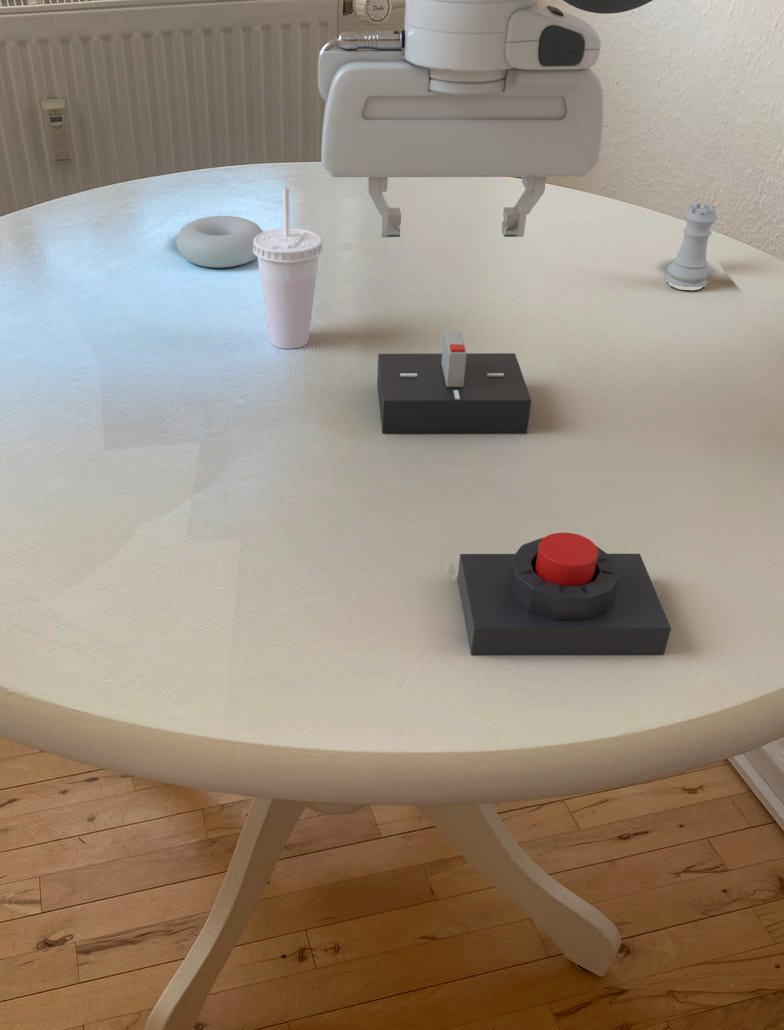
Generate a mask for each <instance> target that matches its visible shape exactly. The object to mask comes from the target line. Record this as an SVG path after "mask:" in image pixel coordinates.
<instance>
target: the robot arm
mask: <svg viewBox="0 0 784 1030" xmlns="http://www.w3.org/2000/svg"><path fill="white" fill-rule="evenodd" d="M562 1H563V2H565V3H566V4H568V5H569V6H571V7H574V8H576V9H578V10H581V11H584V12H588V13H592V14H603V15H607V14H608V15H609V14H620V13H625V12H629V11H632V10H636V9H638V8H640V7H641V8H642V7H643V6H645V5H647V4H649V3H650V2H653V1H654V0H562ZM403 27H404V29H402V30H381V31H380V30H378V31H373V32H358V31H354V30H349V31H343V32H342V31H341V32H340V33H338V37H336V38H333V39H330V40H329V41H328V42H326V43H325V44H324V45H323V46H322V48H321V49H320V51H319V53H318V56H317V58H316V59H317V60H316V88H317V90H318V93H319V95H320V97H321V99H323V101H324V102H325V104H324V111H323V119H322V129H321V145H320V146H321V147H320V161H321V162H320V163H321V166H322V167H323V169H324V170H325V171H326V172H327V173H328V174H329V176H331V177H332V178H367V181H366V182H367V184H366V186H367V191H368V194H369V196H370V198H371V200H372V201H373V204H374V206H375V207H376V209H377V212H378V213H379V215H380V218H379V220H380V221H379V232H380V233H379V234H380V238H400V237H401V227H400V226H401V224H402V212H401V208H400V207H390V206H389V204H388V202H387V200H386V198H385V195H384V194H383V193H386V192H387V191H388V182H389V181H388V180H389V178H521V184H522V185H523V187H524V191H523V193H522V194H521V196H520V197H519V199H518V200H517V202H516V203H515V205H514V206H513V207H512V206H510V207H508V206H507V207H506V206H505V207H503V212H502V218H503V220H502V221H501V234H502V235H503V237H504V238H523V237H524V234H525V228H526V222H527V221H526V220H527V215H529V214H530V213H531V211H532V210H533V209H534V207H535V206H536V204H537V203H538V201H540V199H541V197H542V196H543V195H544V194H545V192H546V191H545V190H546V189H545V188H546V182H547V178H568V177H569V178H582V177H586V176H587V175H589V173H590V172H591V171H592V170H593V168H595V166H596V165H597V164H598V162H599V159H600V154H601V148H602V147H601V146H602V140H603V139H602V137H603V126H604V125H603V124H604V91H603V86H602V83H601V81H600V78H599V77H598V75H597V74H596V73H595V72H594V70H593V69H592V68H593V67H594V66H595V65H596V63H597V61H598V60H599V56H600V53H601V52H600V51H601V44H602V43H601V38H600V35H599V34H598V32H597V31H596V30H595V28H594V27H593V26H591V25H590V24H589V23H588V22H587V21H585V20H583V19H582V18H580V17H578V16H576V15H573V14H571V13H568V12H565V11H563V10H560V9H559V8H557V7H555V6H552V5H546V4H543V3H540V2H539V1H538V0H405V5H404V23H403ZM335 46H338V48H334V47H335Z"/></svg>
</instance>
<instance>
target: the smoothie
mask: <svg viewBox="0 0 784 1030" xmlns="http://www.w3.org/2000/svg"><path fill="white" fill-rule="evenodd" d="M282 206H283V209H282V210H283V228H282V227H281V228H274V229H269V230H266V231H263V233H260V234H259V235H257V236H256V237H255V238H254V240H253V245H254V248H253V252H254V254H255V255H256V256H257V258H256V259H257V264H258V271H259V276H260V284H261V291H262V297H263V303H264V304H263V305H264V311H265V316H266V322H267V329H268V336H269V340H270V341H269V342H270V344H271V345H272V346H273V347H275V348H279V349H284V350H292V349H294V350H295V349H299V348H300V349H301V348H303V347H305V346H307V344H308V343H309V341H310V340H309V339H310V331H311V323H312V315H313V307H314V299H315V291H316V281H317V274H318V268H319V258H320V255H322V253H323V252H324V247H323V238H322V236H321V235H319V234H318V233H316V232H314V231H311V230H309V229H303V228H292V227H291V222H290V221H291V217H290V216H291V215H290V214H291V213H290V210H291V209H290V187H289V186H283V187H282Z"/></svg>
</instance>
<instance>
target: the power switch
mask: <svg viewBox="0 0 784 1030" xmlns="http://www.w3.org/2000/svg"><path fill="white" fill-rule="evenodd" d="M543 538H544V537H541V538H538V539H535V540H532V541H529V542H526V543H524V544H522V545H521V546H519V548H518V550H517V551H516V552H515V553H460V554H459V559H458V570H457V580H456V581H457V586H458V593H459V596H460V602H461V607H462V614H463V618H464V619H463V620H464V624H465V630H466V636H467V640H468V644H469V645H468V646H469V651H470V655H471V656H664V655H665V653H666V649H667V646H668V642H669V638H670V634H671V631H672V627H671V625H670V622H669V620H668V617H667V615H666V613H665V610H664V608H663V605H662V603H661V601H660V599H659V595H658V594H657V592H656V589H655V586H654V584H653V582H652V579H651V577H650V574H649V572H648V569H647V568H646V565H645V562H644V561H643V560H644V559H643V558H642V556H641V553H607V552H605V551H604V550H603V549H602V548H600V547H599V546H597V545H596V547H597V549H598V557H597V561H596V566H595V571H594V576H593V578H592V580H591V581H590V582H589V583H588V584H585V585H583V586H560V585H557V584H554V583H551V582H548V581H545V580H543V579H542V578H541V577H540V576H538V574H537V572H536V561H537V555H538V549H539V544H540V542H541V540H542V539H543Z"/></svg>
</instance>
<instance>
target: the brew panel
mask: <svg viewBox="0 0 784 1030" xmlns="http://www.w3.org/2000/svg"><path fill="white" fill-rule="evenodd" d="M466 353H467V354H466V365H465V375H464V385H463V387H447V386H446V382H445V377H444V373H443V368H442V364H441V362H442V353H378V356H377V377H376V387H377V395H378V405H379V406H378V407H379V415H380V425H381V433H382V434H527V433H528V428H529V421H530V415H531V406H532V398H531V395H530V392H529V389H528V387H527V384H526V381H525V378H524V376H523V372H522V369H521V366H520V364H519V361H518V357H517V355H516V353H515V352H514V353H513V352H507V353H506V352H505V353H504V352H503V353H502V352H499V353H497V352H496V353H495V352H494V353H493V352H491V353H488V352H487V353H483V352H481V353H479V352H478V353H477V352H476V353H475V352H474V353H471V352H469V353H468V352H466Z"/></svg>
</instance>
